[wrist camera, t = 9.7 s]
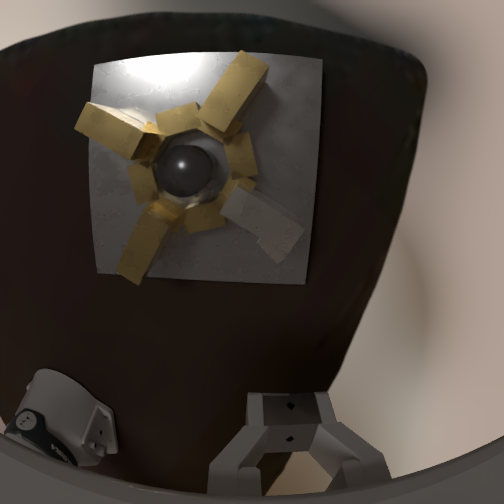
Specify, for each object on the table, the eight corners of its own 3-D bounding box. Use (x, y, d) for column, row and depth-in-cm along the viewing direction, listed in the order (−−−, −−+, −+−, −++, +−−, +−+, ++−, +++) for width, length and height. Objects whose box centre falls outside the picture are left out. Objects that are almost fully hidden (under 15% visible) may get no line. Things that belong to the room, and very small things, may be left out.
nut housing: (301, 276, 32) (314, 309, 25) (105, 265, 31) (75, 293, 25) (317, 64, 24) (336, 42, 18) (103, 69, 24) (69, 54, 17)
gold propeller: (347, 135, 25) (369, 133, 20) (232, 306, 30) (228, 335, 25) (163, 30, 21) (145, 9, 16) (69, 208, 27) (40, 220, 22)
